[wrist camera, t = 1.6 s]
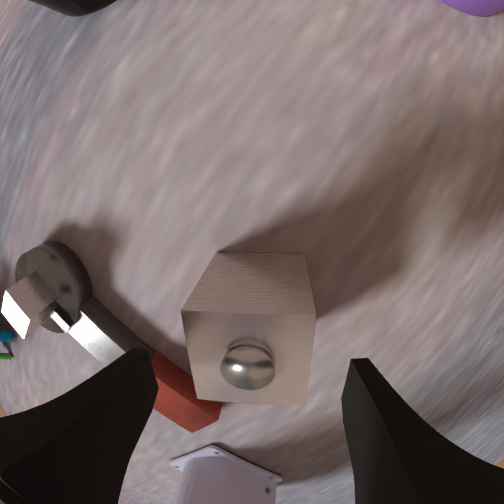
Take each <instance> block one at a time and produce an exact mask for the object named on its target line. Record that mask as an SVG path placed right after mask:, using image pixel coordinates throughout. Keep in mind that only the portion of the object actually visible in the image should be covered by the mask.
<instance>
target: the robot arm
mask: <svg viewBox="0 0 504 504" xmlns="http://www.w3.org/2000/svg"><path fill="white" fill-rule="evenodd" d="M158 390H159V386H158V383H157V380H156V377H155V374H154V370H153V367H152V363H151V360H150V356H149V353H148V350H147V349H140V348H134V347H133V348H132V349H130V350H129V351H127V352H126V353H124V354H123V355H121V356H120V357H119V358H117V359H116V360H115V361H113V362H112V363H110V364H109V365H108V366H106V367H105V368H103V369H102V370H101V371H99V372H98V373H96V374H95V375H93V376H92V377H91V378H89V379H87V380H86V381H84V382H83V383H81V384H80V385H78V386H76V387H75V388H73V389H72V390H70V391H68V392H67V393H65V394H63V395H61V396H59V397H57V398H55V399H53V400H51V401H49V402H47V403H45V404H42V405H40V406H37V407H34V408H32V409H29V410H26V411H24V412H20V413H17V414H14V415H9V416H5V417H1V418H0V504H118V500H119V495H120V491H121V487H122V483H123V480H124V476H125V473H126V470H127V466H128V463H129V460H130V458H131V455H132V453H133V451H134V448H135V446H136V444H137V442H138V440H139V438H140V436H141V433H142V431H143V429H144V427H145V425H146V423H147V421H148V418H149V416H150V414H151V412H152V409H153V406H154V403H155V400H156V397H157V393H158ZM341 400H342V413H343V423H344V428H345V433H346V438H347V443H348V447H349V452H350V457H351V463H352V468H353V474H354V482H355V504H504V469H503V468H500V467H497V466H495V465H492V464H490V463H487V462H485V461H483V460H481V459H479V458H477V457H475V456H473V455H472V454H470V453H468V452H466V451H465V450H463V449H461V448H460V447H458V446H457V445H455V444H454V443H452V442H451V441H449V440H448V439H446V438H445V437H444V436H442V435H441V434H440V433H439V432H437V431H436V430H435V429H434V428H432V427H431V426H430V425H429V424H428V423H426V422H425V421H424V420H423V419H422V418H421V417H420V416H419V415H418V414H417V413H416V412H415V411H414V410H413V409H412V408H411V407H410V406H409V405H408V404H407V403H406V402H405V401H404V400H403V399H402V398H401V397H400V395H399V394H398V393H397V392H396V391H395V390H394V389H393V388H392V386H391V385H390V384H389V383H388V382H387V380H386V379H385V378H384V377H383V376H382V374H381V373H380V372H379V371H378V370H377V368H376V367H375V366H374V365H373V364H372V362H371V361H370V360H369V359H368V358H359V359H351V361H350V366H349V370H348V374H347V378H346V382H345V386H344V390H343V394H342V397H341ZM169 465H170V466H172V467H174V468H176V469H178V470H180V471H182V474H181V477H180V480H179V484H178V487H177V490H176V494H175V497H174V500H173V504H275V499H276V483H278V482H281V481H282V480H283V478H282V477H281V476H278V475H276V474H274V473H271V472H269V471H266V470H264V469H262V468H260V467H257V466H255V465H253V464H251V463H249V462H247V461H245V460H243V459H240V458H238V457H236V456H234V455H232V454H231V453H229V452H227V451H225V450H223V449H221V448H219V447H217V446H215V445H210V446H207V447H205V448H202V449H200V450H197V451H195V452H192V453H189V454H187V455H184V456H181V457H178V458H176V459H173V460H170V461H169Z"/></svg>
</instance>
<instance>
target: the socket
mask: <svg viewBox="0 0 504 504" xmlns="http://www.w3.org/2000/svg"><path fill="white" fill-rule="evenodd" d="M181 315H182V321H183V327H184V333H185V339H186V344H187V350H188V355H189V361H190V366H191V371H192V376H193V381H194V385H195V390H196V395H197V399H203V400H212V401H222V402H234V403H249V404H273V405H305V401H306V394H307V388H308V381H309V373H310V366H311V358H312V350H313V341H314V332H315V323H316V310H315V305H314V300H313V295H312V290H311V285H310V280H309V275H308V270H307V266H306V261H305V256H304V253H215V255H214V257H213V258H212V260H211V261H210V263H209V265H208V266H207V268H206V270H205V271H204V273H203V274H202V276H201V278H200V279H199V281H198V283H197V284H196V286H195V287H194V289H193V291H192V292H191V294H190V296H189V297H188V299H187V301H186V302H185V304H184V306H183V307H182V309H181Z"/></svg>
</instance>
